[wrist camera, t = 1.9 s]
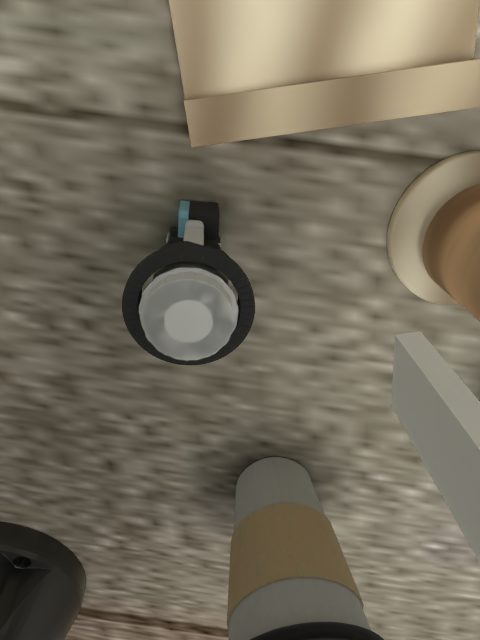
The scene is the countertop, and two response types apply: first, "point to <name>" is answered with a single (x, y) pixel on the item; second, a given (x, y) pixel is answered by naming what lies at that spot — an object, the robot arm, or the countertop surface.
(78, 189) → the countertop surface
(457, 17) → the terminal board
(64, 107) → the countertop surface
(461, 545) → the countertop surface
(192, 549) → the countertop surface
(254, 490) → the coffee cup
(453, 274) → the bobbin
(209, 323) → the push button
